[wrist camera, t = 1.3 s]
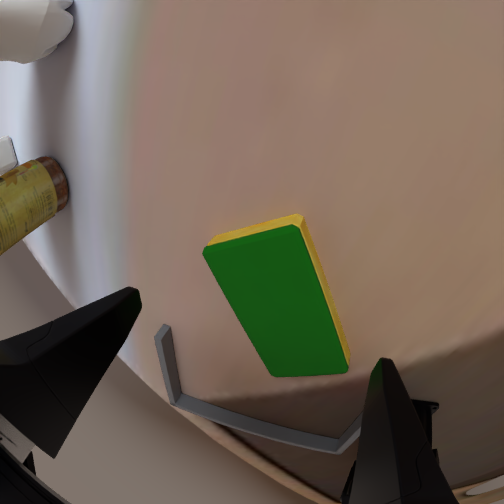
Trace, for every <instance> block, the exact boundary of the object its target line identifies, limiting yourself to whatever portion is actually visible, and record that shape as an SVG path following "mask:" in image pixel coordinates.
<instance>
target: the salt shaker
mask: <svg viewBox="0 0 504 504" xmlns="http://www.w3.org/2000/svg"><path fill="white" fill-rule="evenodd" d="M16 164H17V160H16V156H15V153H14V149H13V146H12V142H11V138H10V137H9V136H3V137H1V138H0V175H2V174H4V173H6V172H7V171H9V170H10V169H12V168H13V167H15V165H16Z"/></svg>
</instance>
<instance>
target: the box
mask: <svg viewBox="0 0 504 504" xmlns="http://www.w3.org/2000/svg"><path fill="white" fill-rule="evenodd" d="M154 339H155V344H156V348H157V353H158V357H159V361H160V365H161V370H162V374H163V378H164V382H165V385H166V389H167V393H168V397H169V400H170V404H171V405H173V406H176V407H178V408H180V409H183V410H185V411H188V412H190V413H193V414H195V415H198V416H200V417H203V418H206V419H208V420H211V421H214V422H217V423H220V424H222V425H225V426H228V427H231V428H234V429H237V430H240V431H244V432H247V433H250V434H253V435H257V436H260V437H264V438H267V439H271V440H274V441H278V442H282V443H286V444H290V445H294V446H298V447H303V448H307V449H312V450H316V451H321V452H326V453H332V454H337V455H340V454H341V453H342V452H343V451H344V450H345V449H347V448H348V447H349V446H350V445H351V444H352V443H353V442H354V441H355V440H356V439H357V438H358V437H359V436H360V431H361V422H362V415H363V411H362V413H361V414H360V415H359V416H358V417H357V419H356V420H355V421H354V422H353V423H352V425H351V426H350V427H349V428H348V429H347V430H346V431H345V433H344V434H343V435H342V436H341V437H340V438H339V439H334V438H329V437H324V436H320V435H315V434H311V433H306V432H302V431H298V430H294V429H290V428H286V427H282V426H278V425H275V424H271V423H267V422H264V421H261V420H257V419H254V418H251V417H247V416H244V415H241V414H238V413H235V412H232V411H229V410H226V409H223V408H220V407H217V406H214V405H212V404H209V403H206V402H203V401H201V400H198V399H196V398H193V397H190V396H188V395H185V394H183V393H181V388H180V382H179V377H178V371H177V366H176V360H175V354H174V348H173V341H172V335H171V328H170V326H167V325H165V324H163V326H162V327H161V328H160V330H159V331H158V332H157V334H156V335H155V337H154Z"/></svg>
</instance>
